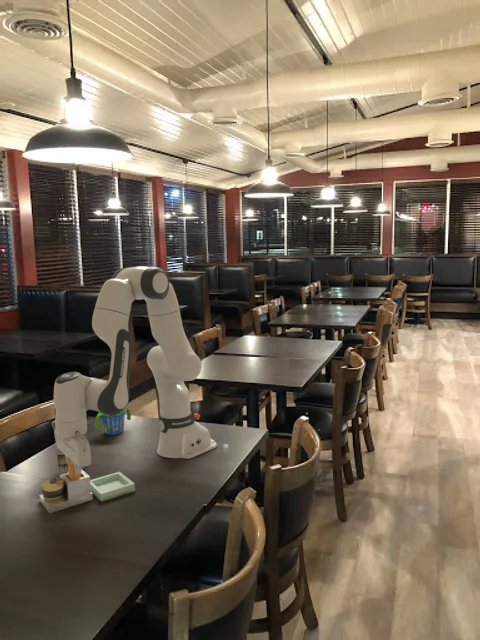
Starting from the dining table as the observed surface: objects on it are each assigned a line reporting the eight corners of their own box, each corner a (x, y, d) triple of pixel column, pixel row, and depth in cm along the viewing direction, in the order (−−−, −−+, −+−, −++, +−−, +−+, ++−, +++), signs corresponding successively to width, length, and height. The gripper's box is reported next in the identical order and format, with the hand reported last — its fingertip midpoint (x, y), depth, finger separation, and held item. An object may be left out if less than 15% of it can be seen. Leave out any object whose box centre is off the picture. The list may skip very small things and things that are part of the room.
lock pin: (79, 487, 165) (77, 460, 164) (83, 491, 162) (81, 463, 161) (67, 490, 163) (66, 463, 161) (72, 495, 160) (70, 466, 159)
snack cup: (101, 440, 209) (100, 415, 207) (90, 433, 217) (88, 409, 215) (137, 431, 218) (136, 407, 217) (125, 424, 227) (124, 401, 225)
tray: (119, 478, 175) (119, 471, 175) (134, 491, 166) (134, 483, 166) (87, 488, 169) (87, 481, 168) (101, 501, 160) (101, 494, 159)
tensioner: (81, 488, 168) (80, 464, 167) (92, 499, 161) (91, 474, 160) (39, 501, 161) (37, 476, 159) (48, 513, 153) (46, 487, 152)
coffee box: (75, 476, 177) (72, 430, 175) (57, 475, 179) (54, 428, 176) (88, 465, 186) (85, 420, 184) (71, 463, 187) (68, 419, 185)
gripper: (95, 434, 153) (97, 479, 155) (70, 416, 169) (72, 457, 171) (73, 439, 149) (76, 486, 151) (50, 420, 165) (53, 462, 168)
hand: (74, 470), depth 162 cm, fingers closed on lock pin, 3 cm apart
